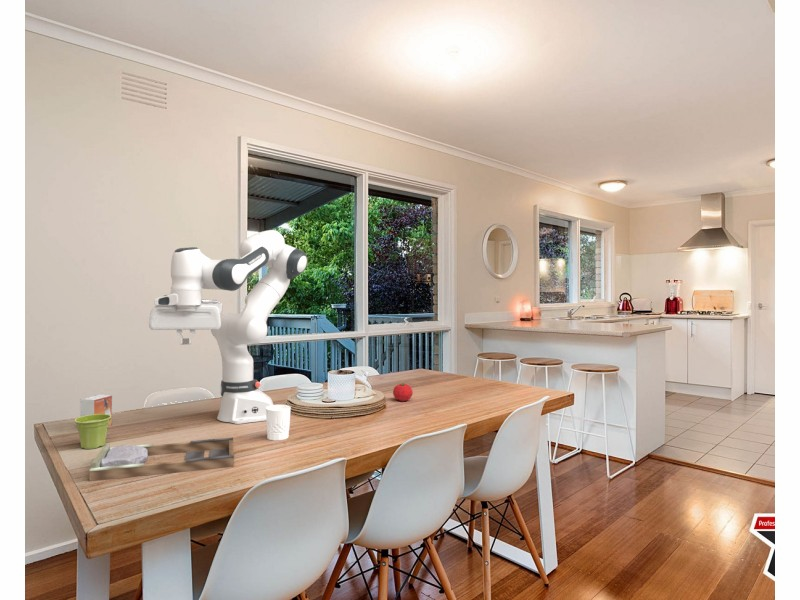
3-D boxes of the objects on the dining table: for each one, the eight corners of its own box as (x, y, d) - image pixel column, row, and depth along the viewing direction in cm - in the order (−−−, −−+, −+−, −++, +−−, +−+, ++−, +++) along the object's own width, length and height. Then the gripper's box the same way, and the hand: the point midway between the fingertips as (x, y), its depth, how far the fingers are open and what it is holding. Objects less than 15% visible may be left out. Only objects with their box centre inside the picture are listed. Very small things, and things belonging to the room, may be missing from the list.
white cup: (294, 435, 160) (295, 405, 160) (281, 442, 152) (282, 411, 152) (274, 433, 162) (274, 403, 162) (260, 439, 155) (260, 408, 155)
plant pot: (70, 453, 139) (71, 423, 139) (78, 443, 148) (78, 415, 148) (108, 449, 143) (108, 420, 143) (113, 440, 152) (113, 412, 151)
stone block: (148, 462, 138) (109, 458, 135) (151, 446, 138) (113, 441, 135) (138, 479, 127) (96, 475, 124) (142, 462, 127) (100, 457, 124)
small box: (93, 431, 160) (93, 400, 160) (79, 430, 161) (79, 398, 161) (112, 424, 168) (112, 394, 168) (98, 423, 169) (99, 394, 169)
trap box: (232, 446, 148) (233, 433, 148) (233, 466, 131) (233, 452, 131) (106, 457, 136) (106, 443, 136) (89, 481, 120) (89, 465, 119)
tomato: (391, 398, 218) (392, 380, 217) (411, 398, 219) (411, 380, 218) (393, 402, 209) (394, 384, 209) (413, 402, 210) (414, 384, 210)
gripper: (222, 299, 154) (221, 342, 155) (151, 299, 147) (151, 343, 148) (222, 300, 148) (221, 344, 149) (148, 299, 141) (147, 346, 142)
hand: (185, 344), depth 148 cm, fingers closed
